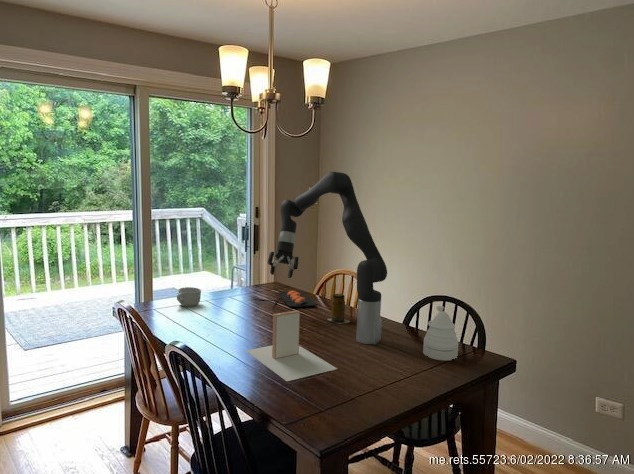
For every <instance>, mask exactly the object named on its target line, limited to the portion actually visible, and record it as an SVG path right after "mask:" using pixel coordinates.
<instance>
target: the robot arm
mask: <svg viewBox="0 0 634 474" xmlns="http://www.w3.org/2000/svg"><path fill="white" fill-rule="evenodd" d="M329 193H331V194H336V195H339V197H340V199H341V201H342V205H343V211H342V217H341V220H342V221H341V222H342V225H343V228H344V231H345V234H346V236H347V237H348V240H350V241H351V242H352V243H353V244H354V245H355V246H356V247H357V248H358V249H359V250H361V252H362V253H363V255H364V257H365V258H366V259H365V260H361V261H360V262H359V263H358V265H357V266H356V267H357V268H356V292H357V296H358V297H357V313H356V315H357V317H356V335H355V336H356V337H355V340H356V341H357V342H358V343H360V344H364V345H377V344H378V343H379V342H381V340H382V326H383V325H382V323H383V317H381V311H382V310H381V309H382V308H381V307H382V292H381V291H378V290H375V289H374V284H376V283H379V282H380V283H381V282H384V281H385V280H386V279H387V276H388V269H387V265H386V261H384V259H383V257H382V255H381V253H380V251H379V249H378V247H377V246H376V244H375V241H374V239H373V237H372V234H371V232H370V229H369V227H368V226H369V225H368V224H367V222H366V221H367V220H366V219H365V217H364V214H363V212H362V210H361V208H360V204H359V201H358V199H357V196H356V193H355V189H354V185H353V183H352V180H351V178H350V176H349V174H347V173H345V172H340V171H330V172H328V173H326V174H324V176H323V177H322V178H320V179H319V181H317V182H316V183H315V184H314V185H313V186H312V187H310V188H309V189H308V190H306V191H305V192H302V193H301V194H299V195H298V196H296V198H295V199H294V200H292V199H291V200H290V199H285V200H283V201H282V203H281V205H280V217H281V218H280V219H281V220H280V221H281V226H280V232H279V235H278V240H277V241H278V242H277V246H276V247H277V248H276V252H274V251H270V252H269V255H268V259H267V265H269V266H270V271H269V272H270V274H271V275H272V276H274V275H275V269H276V265H278V264H283V265H287V267H288V269H289V270H288V275H287V278H288V279H291V278H292V277H293V273H294V271H295V270H298V269H299V268H298V265H299V256H293V255H294V248H295V242H296V241H295V240H296V233H297V232H296V231H297V222H296V221H295V220H293V219H292V217H293V218H299V217H300V216H302V214H304V212H305V211H306V210H307V209H309V208H311V207H312V206H314V205H315V204H316V203H317V202H319V199H320V197H322V196H323V195H326V194H329ZM274 257H275V258H276V259H275V260H274V261H273V259H274ZM292 262H293V263H292Z"/></svg>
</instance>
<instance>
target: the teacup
mask: <svg viewBox="0 0 634 474" xmlns="http://www.w3.org/2000/svg"><path fill="white" fill-rule="evenodd" d="M201 292H202V289H201V288H198V287H193V286H192V287H191V286H190V287H189V286H188V287H187V286H186V287H181V288H179V289H178V293H177V294H176V300H177V301H178V303H179V304H180V305H181V306H183V307H185V308H191V307H192V308H193V307H196V306H197V305H198V304H200V302H201V294H202V293H201Z"/></svg>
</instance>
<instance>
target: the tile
mask: <svg viewBox="0 0 634 474" xmlns="http://www.w3.org/2000/svg"><path fill="white" fill-rule="evenodd" d="M272 315H273V316H272V344H271V345H272V358H274V359H278V358H283V357H287V356H292V355H296V354H299V346H300V326H301V325H300V323H301V322H300V321H301V320H300V319H301V311H299V310H290V311H283V312H277V313H273V314H272Z"/></svg>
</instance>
